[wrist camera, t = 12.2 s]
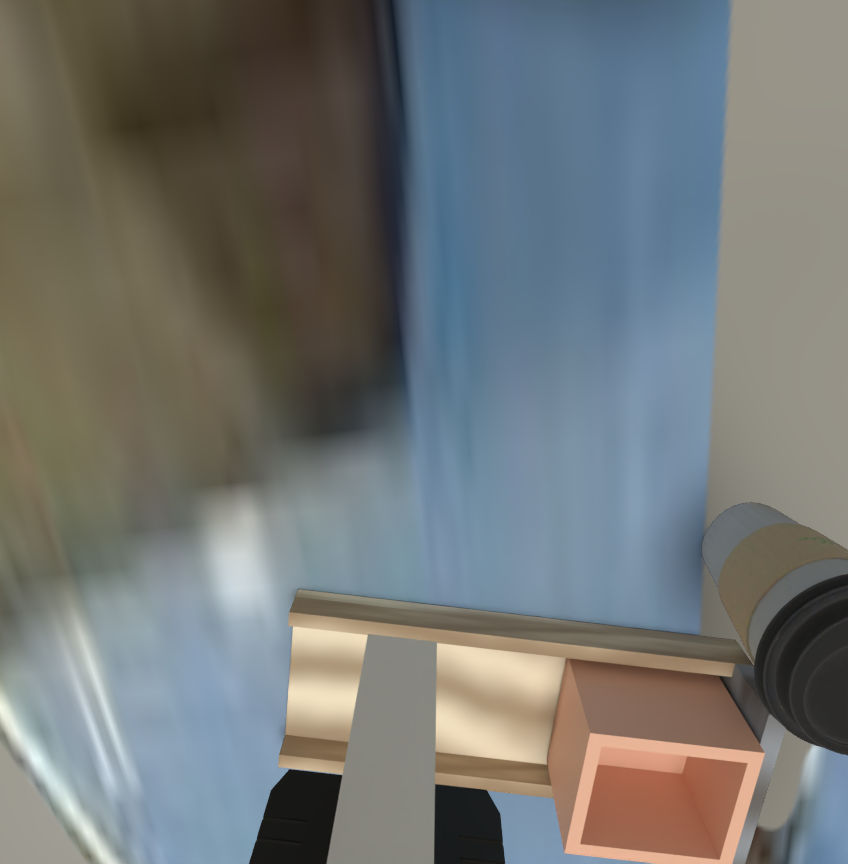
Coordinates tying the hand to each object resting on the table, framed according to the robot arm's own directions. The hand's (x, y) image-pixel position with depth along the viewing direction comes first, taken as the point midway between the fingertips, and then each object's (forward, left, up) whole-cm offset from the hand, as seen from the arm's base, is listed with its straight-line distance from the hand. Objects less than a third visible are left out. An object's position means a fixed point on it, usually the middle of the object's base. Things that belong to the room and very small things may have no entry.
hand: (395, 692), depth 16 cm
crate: (+21, +16, -29) cm, 39 cm away
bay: (+21, +8, -30) cm, 38 cm away
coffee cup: (+8, +22, -31) cm, 39 cm away
